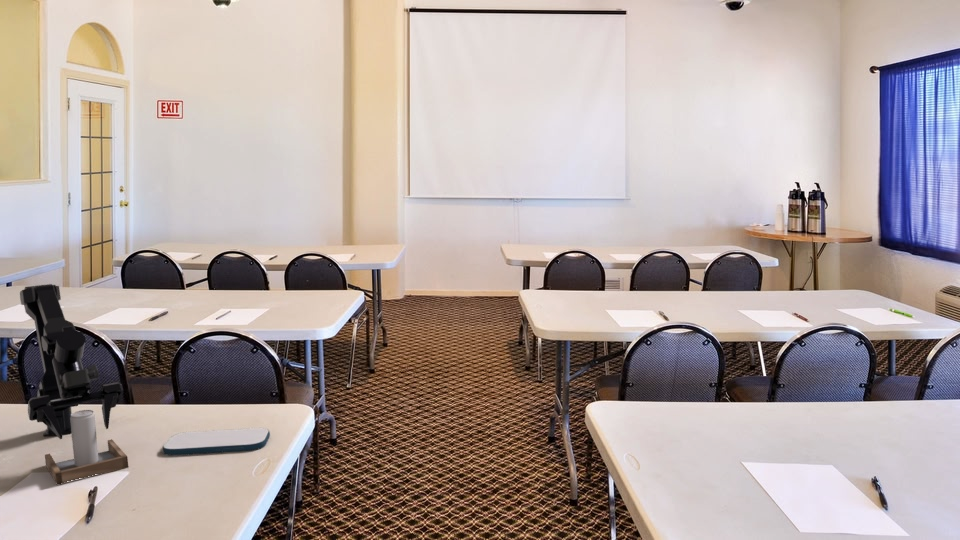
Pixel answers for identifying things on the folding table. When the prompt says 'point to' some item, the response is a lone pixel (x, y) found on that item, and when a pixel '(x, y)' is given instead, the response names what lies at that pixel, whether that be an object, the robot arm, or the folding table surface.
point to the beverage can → (84, 437)
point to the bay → (105, 464)
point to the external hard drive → (216, 441)
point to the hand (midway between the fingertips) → (84, 433)
